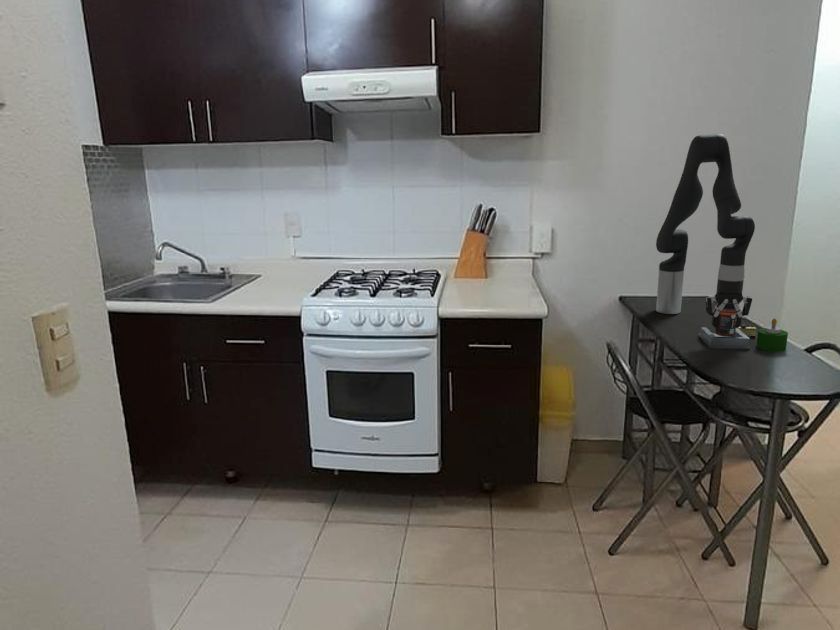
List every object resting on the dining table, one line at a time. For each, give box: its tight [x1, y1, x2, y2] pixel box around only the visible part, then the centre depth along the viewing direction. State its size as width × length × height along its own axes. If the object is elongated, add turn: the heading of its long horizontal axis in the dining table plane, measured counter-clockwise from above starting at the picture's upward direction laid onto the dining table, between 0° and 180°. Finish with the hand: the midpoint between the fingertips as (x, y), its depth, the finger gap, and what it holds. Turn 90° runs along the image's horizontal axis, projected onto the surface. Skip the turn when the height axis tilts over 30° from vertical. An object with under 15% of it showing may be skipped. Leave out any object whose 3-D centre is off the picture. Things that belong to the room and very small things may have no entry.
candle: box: [756, 317, 789, 353], centre depth 189 cm, size 8×8×10 cm
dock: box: [698, 326, 751, 350], centre depth 197 cm, size 14×12×4 cm
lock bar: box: [738, 323, 758, 338], centre depth 203 cm, size 2×8×4 cm, turn 79°
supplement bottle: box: [715, 303, 737, 337], centre depth 194 cm, size 6×6×11 cm
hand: (725, 327), depth 195 cm, fingers closed on supplement bottle, 6 cm apart
